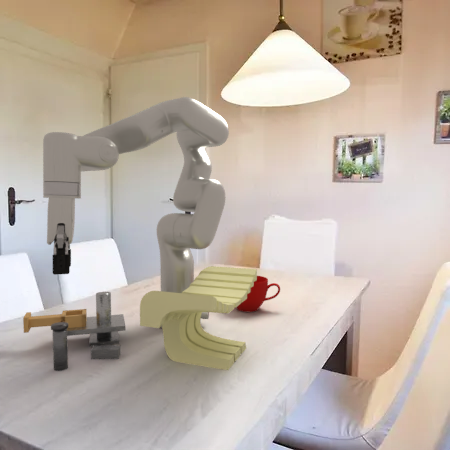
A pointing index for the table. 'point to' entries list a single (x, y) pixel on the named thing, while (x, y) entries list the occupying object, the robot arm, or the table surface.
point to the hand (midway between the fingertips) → (62, 270)
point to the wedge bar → (106, 352)
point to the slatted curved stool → (199, 316)
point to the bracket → (56, 319)
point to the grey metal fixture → (101, 323)
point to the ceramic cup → (257, 295)
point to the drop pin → (60, 346)
